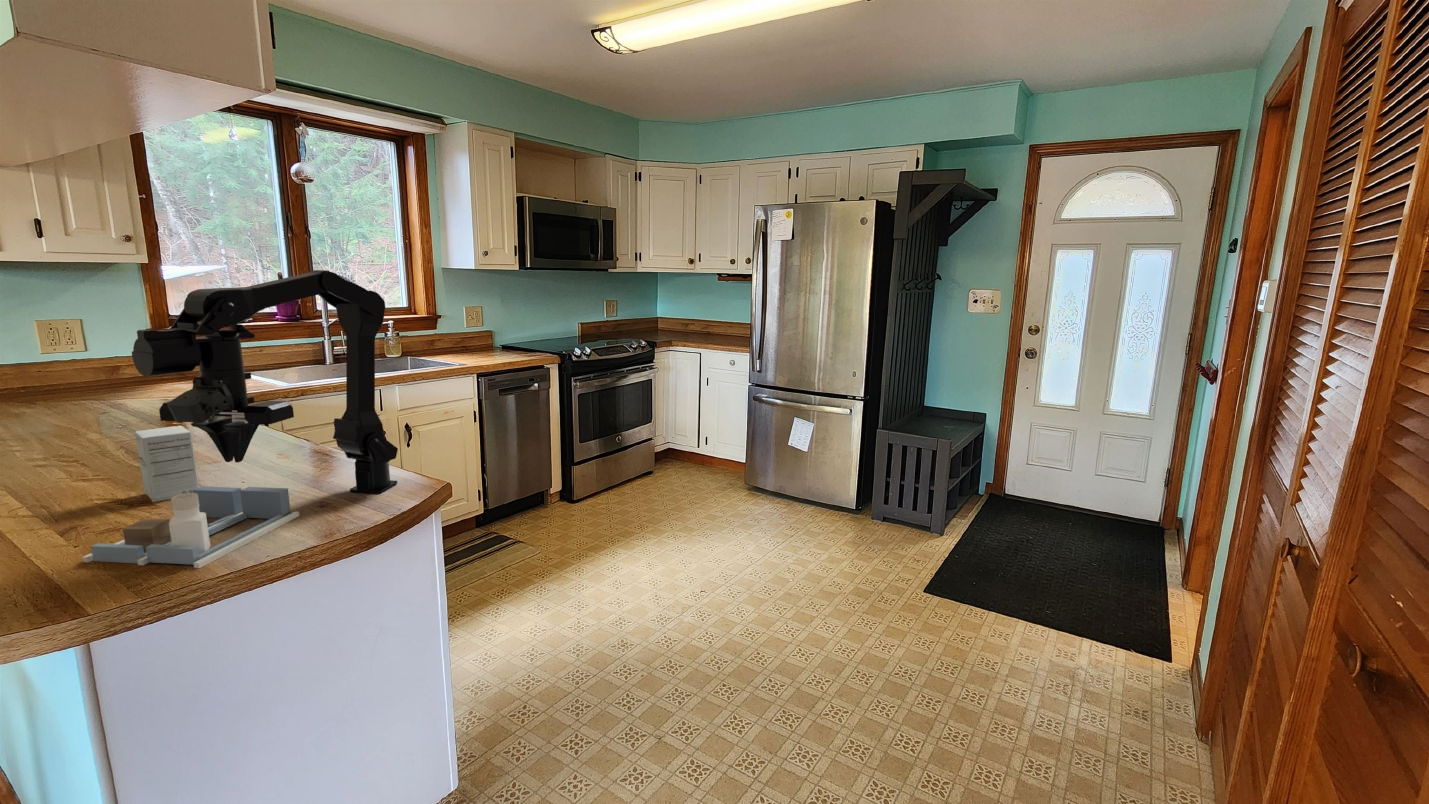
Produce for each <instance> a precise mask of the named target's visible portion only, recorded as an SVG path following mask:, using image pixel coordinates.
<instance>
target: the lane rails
mask: <svg viewBox="0 0 1429 804" xmlns="http://www.w3.org/2000/svg"><path fill="white" fill-rule="evenodd" d="M242 513H243V512H241V513H239V514H237V515H235V516H232V517H230V518H228V519H226V520H224V521H222V522H219V523H217V524H215V525H213V526H211V527H208V529H210V528H212V527H214V526H216V525H218V524H220V523H223V522H225V521H227V520H229V519H231V518H233V517H236V516H238V515H240V514H242ZM298 517H300V512H299V511H293V512H291V514H289V515H287V516H285V517H283V518H281V519H279V520H277V521H275V522H273V523H271V524H269V525H267V526H265V527H263V528H261V529H259V530H257V531H255V532H253V533H251V534H249V535H247V536H246V537H244V538H242V539H240V540H238V541H236V542H234V543H232V544H230V545H228V546H226V547H224V548H222V549H220V550H218V551H216V552H214V553H212V554H210V555H208V556H206V557H204V558H202V559H200V560H198V561H196V562H194V565H193V568H194V569H200V568H203V567H205V566H206V565H209V564H210V563H212V562H214V561H215V560H218V559H220V558H222V557H224V556H226V555H228V554H229V553H231V552H233V551H236V550H237V549H239V548H241V547H243V546H245V545H247V544H249V543H251V542H252V541H254V540H256V539H258V538H260V537H262V536H265V535H266V534H268V533H270V532H271V531H273V530H275V529H277V528H279V527H281V526H283V525H285V524H287V523H289V522H291V521H292V520H294V519H296V518H298ZM122 543H125V540H124V539H122V540H121V541H120V540H119V541H116V542H115V543H114V544H122ZM171 545H172V544H171ZM81 560H82V563H90V562H92V561H93V556H92V552H91V553H88V554H86V555H84V556H82V557H81ZM137 561H138V563H137V565H138V566H145V565H147V564H149V563H150V562H148V558H147V556H145V557H143V558H141V559H139V560H137Z"/></svg>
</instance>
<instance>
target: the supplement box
mask: <svg viewBox="0 0 1429 804" xmlns="http://www.w3.org/2000/svg"><path fill="white" fill-rule="evenodd" d="M134 436H135V441H136V442H135V443H136V449H137V454H138V460H139V461H138V462H139V466H140V474H141V477H142V486H143V490H144V494H145V495H146V496H148V497H149V499H150V500H151V502H153V503H157V502H161V501H162V502H163V501H167V500H168V501H169V500H171V498H172V497H174V496H176V495H179V494H185V493H193V490H194V489H196V488H199V480H198V479H199V478H198V473H197V464H196V460H195V459H196V457H195V451H194V445H193V444H194V443H193V437H192V432H191V431H189V429H188V428H185V426H182V425H174V426H166V427H165V426H164V427H159V428H151V429H143V430H136V431H134Z"/></svg>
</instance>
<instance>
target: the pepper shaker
mask: <svg viewBox="0 0 1429 804" xmlns="http://www.w3.org/2000/svg"><path fill="white" fill-rule="evenodd" d="M170 503H171V509H172V511H173V512H172V513H173V516H172V517H171V518H170V522H169V528H170V534H171V541H172V545H176V546H196V547H198V550H199V554H201V553H203V552H205V551H207V550H209V549H211V548H210V547H211V540H210V535H209V532H208V525H209V524H208V520H207V518H208V517H206V513H204V512H200V511H199V506H200V505H199V500H198V494H197V493H185V494H179V495H176V496H174V497H172V498H171V499H170Z"/></svg>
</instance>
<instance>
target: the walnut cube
mask: <svg viewBox="0 0 1429 804" xmlns="http://www.w3.org/2000/svg"><path fill="white" fill-rule="evenodd" d="M170 520H171V518H153V519H152V518H151V519H147V518H146V519H141V520H139V521H137V522H134V523H133V524H130V525H128V526H126V527H124V528H122V533H123V538H124V539H123V540H125V545H140V546H143V549H144V553H147V552H146V547H147V546H149V545H152V544H156V545H164V544H167V543H169V542H171V534H170V528H169V522H170Z"/></svg>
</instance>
